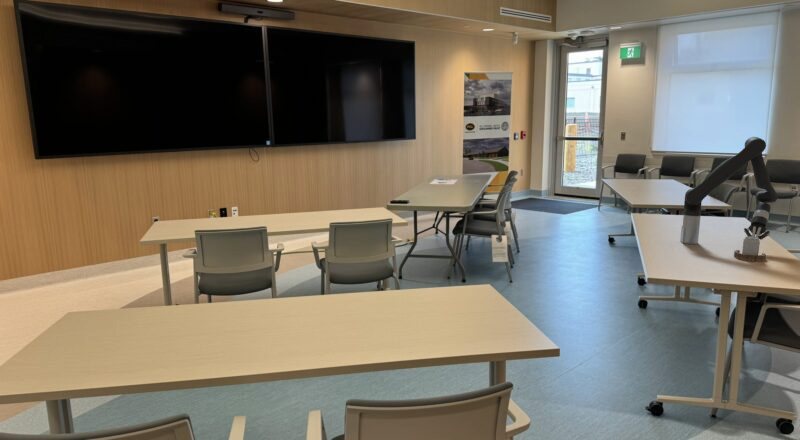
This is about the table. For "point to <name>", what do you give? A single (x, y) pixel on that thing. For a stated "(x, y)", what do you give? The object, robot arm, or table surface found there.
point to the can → (751, 245)
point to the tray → (749, 256)
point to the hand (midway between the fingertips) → (753, 244)
